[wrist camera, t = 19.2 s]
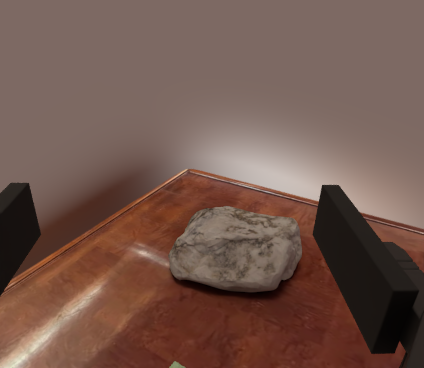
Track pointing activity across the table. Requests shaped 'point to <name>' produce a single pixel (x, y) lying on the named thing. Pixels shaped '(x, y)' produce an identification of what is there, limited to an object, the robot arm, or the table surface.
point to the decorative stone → (237, 250)
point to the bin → (176, 365)
